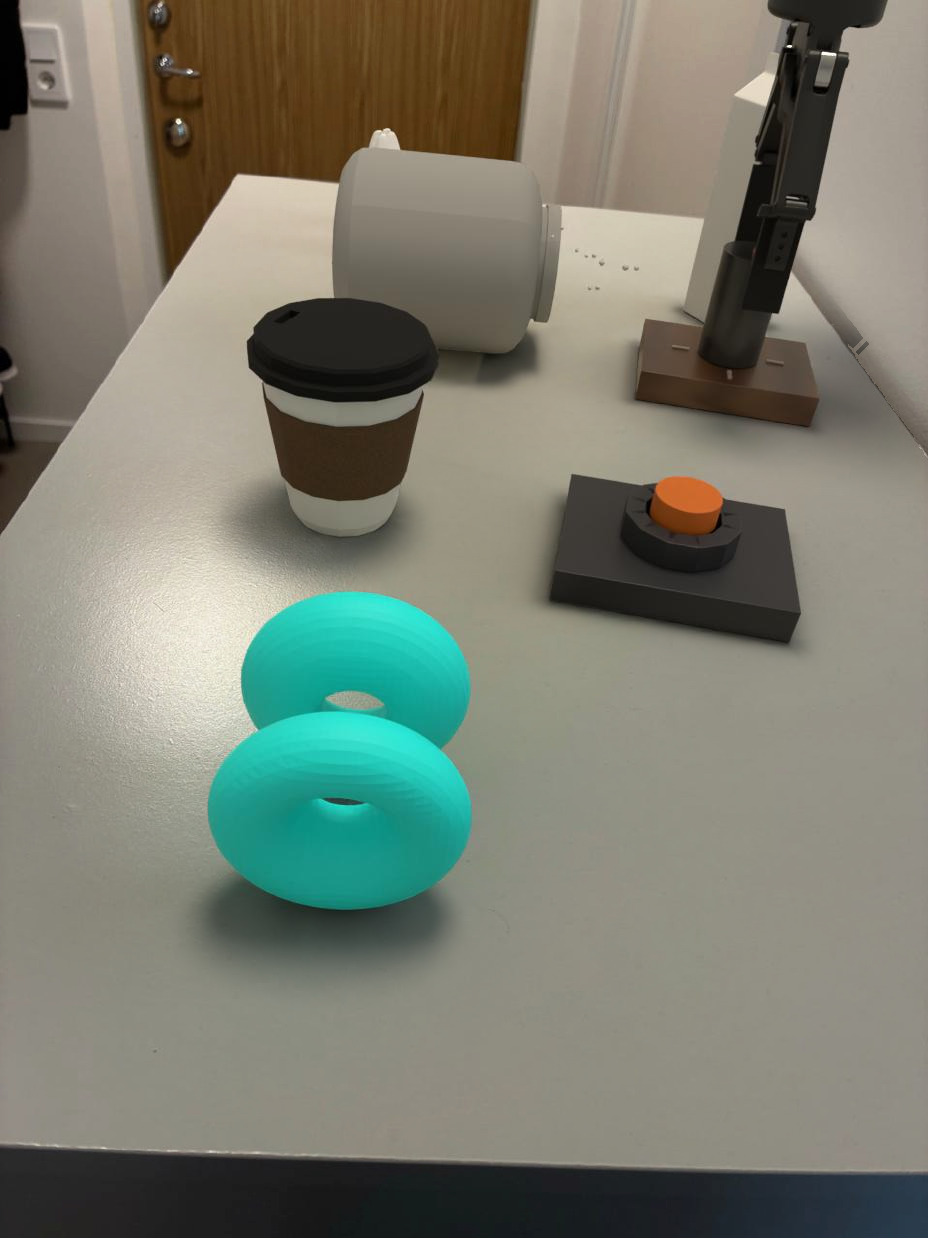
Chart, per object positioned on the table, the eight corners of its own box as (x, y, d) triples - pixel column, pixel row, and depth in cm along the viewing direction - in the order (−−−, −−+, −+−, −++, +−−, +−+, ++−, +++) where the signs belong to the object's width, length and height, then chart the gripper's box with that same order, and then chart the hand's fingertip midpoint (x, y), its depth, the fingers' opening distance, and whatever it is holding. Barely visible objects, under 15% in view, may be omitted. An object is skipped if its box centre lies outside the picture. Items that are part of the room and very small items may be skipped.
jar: (376, 223, 90) (645, 223, 85) (362, 378, 89) (632, 386, 84) (307, 108, 71) (647, 99, 66) (290, 302, 71) (630, 307, 66)
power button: (714, 506, 58) (722, 481, 57) (716, 542, 55) (724, 517, 54) (650, 495, 59) (656, 471, 58) (648, 531, 56) (654, 505, 55)
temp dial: (697, 338, 81) (723, 232, 75) (756, 347, 80) (787, 242, 75) (697, 362, 77) (725, 253, 71) (759, 372, 77) (793, 263, 71)
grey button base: (775, 536, 63) (793, 485, 60) (789, 642, 55) (811, 587, 52) (566, 501, 64) (575, 449, 62) (548, 599, 56) (559, 544, 53)
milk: (722, 335, 89) (794, 67, 74) (681, 310, 93) (741, 50, 78) (770, 326, 91) (848, 65, 77) (727, 302, 95) (794, 49, 81)
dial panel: (797, 369, 84) (806, 340, 82) (809, 426, 76) (820, 396, 74) (639, 344, 85) (645, 316, 83) (635, 399, 77) (641, 368, 75)
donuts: (212, 918, 38) (186, 750, 32) (254, 734, 46) (240, 569, 39) (460, 929, 39) (484, 766, 32) (460, 746, 46) (480, 585, 40)
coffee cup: (222, 529, 58) (204, 344, 51) (309, 450, 66) (304, 280, 59) (383, 580, 56) (390, 393, 48) (453, 491, 64) (469, 319, 56)
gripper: (941, -27, 51) (820, 347, 65) (870, -60, 70) (788, 234, 84) (799, -40, 52) (709, 332, 65) (768, -70, 71) (703, 223, 84)
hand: (754, 278), depth 75 cm, fingers open, 13 cm apart
